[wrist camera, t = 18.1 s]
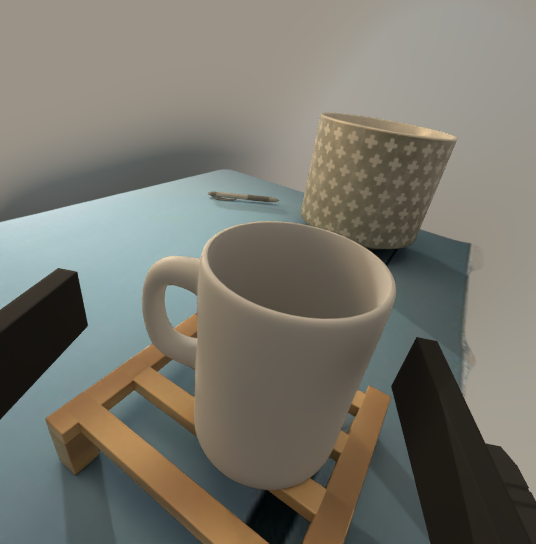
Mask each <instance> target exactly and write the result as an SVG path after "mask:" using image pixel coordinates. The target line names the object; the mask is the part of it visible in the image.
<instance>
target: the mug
mask: <svg viewBox="0 0 536 544" xmlns="http://www.w3.org/2000/svg"><path fill="white" fill-rule="evenodd" d="M167 285H175V286H179V287H182V288H184V289H187V290H189V291H191V292H192V293H194V294H196V295H197V338H192V337H188V336H185V335H183V334H181V333H179V332H178V331H176V330H175V329H174V328H173V327H172V325H171V323H170V322H169V319H168V317H167V313H166V309H165V290H166V287H167ZM395 297H396V284H395V280H394V278H393V276H392V274H391V272H390V270H389V269H388V267H387V266H386V265H385V264H384V263H383V262H382V261H381V260H380V259H379V258H378V257H377V256H376V255H375V254H373V253H372V252H371V251H369V250H368V249H366V248H365V247H363V246H361V245H360V244H358V243H356V242H354V241H352V240H350V239H348V238H346V237H343V236H341V235H338V234H336V233H333V232H330V231H327V230H324V229H320V228H316V227H312V226H308V225H303V224H297V223H289V222H275V221H265V222H252V223H245V224H240V225H236V226H233V227H230V228H227V229H225V230H223V231H221V232H219V233H217V234H216V235H215V236H213V237H212V238H211V239H210V240H209V241H208V242H207V243H206V245H205V247H204V249H203V251H202V255H201V259H198V258H191V257H184V256H168V257H165V258H163V259H160V260H158V261H157V262H156V263H155V264H154V265H153V266H152V267H151V268H150V270H149V272H148V274H147V276H146V279H145V282H144V286H143V294H142V310H143V317H144V322H145V326H146V330H147V332H148V335H149V337H150V339H151V341H152V343H153V345H154V346H155V347H156V348H157V349H158V350H159V351H160V352H161V353H162V354H164V355H165V356H167V357H169V358H171V359H173V360H175V361H177V362H180V363H182V364H185V365H187V366H190V367H193V368H195V400H194V423H195V430H196V434H197V437H198V441H199V443H200V445H201V447H202V449H203V451H204V453H205V454H206V456H207V457H208V459H209V460H210V461H211V463H212V464H213V465H214V466H215V467H216V468H217V469H218V470H219V471H220V472H222V473H223V474H224V475H226V476H227V477H229V478H230V479H232V480H233V481H236V482H238V483H240V484H242V485H245V486H248V487H251V488H256V489H262V490H278V489H285V488H289V487H292V486H296V485H298V484H300V483H302V482H304V481H306V480H307V479H309V478H310V477H312V476H313V475H314V474H315V473H316V472H317V471H318V470H319V469H320V468H322V466H323V465H324V464H325V462H326V461H327V459H328V458H329V456H330V454H331V452H332V450H333V448H334V446H335V443H336V441H337V438H338V435H339V433H340V430H341V428H342V425H343V423H344V420H345V418H346V415H347V413H348V411H349V408H350V406H351V404H352V401H353V399H354V397H355V394H356V392H357V390H358V387H359V385H360V383H361V380H362V378H363V376H364V373H365V371H366V369H367V366H368V364H369V362H370V359H371V357H372V355H373V352H374V350H375V348H376V345H377V343H378V341H379V339H380V336H381V334H382V332H383V329H384V327H385V325H386V322H387V320H388V318H389V315H390V313H391V310H392V308H393V304H394V301H395Z"/></svg>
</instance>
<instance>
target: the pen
mask: <svg viewBox="0 0 536 544" xmlns="http://www.w3.org/2000/svg"><path fill="white" fill-rule="evenodd" d="M208 195H210V196H212V198H214V199H218V200H229V201H231V200H236V199H244V200H252V201H263V202H277V201H279V200H278V199H276V198H272V197H264V196H254V195H242V194H232V193H222V192H210V193H208ZM221 197H224V198H221ZM227 198H234V199H227Z"/></svg>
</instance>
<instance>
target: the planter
mask: <svg viewBox="0 0 536 544" xmlns="http://www.w3.org/2000/svg"><path fill="white" fill-rule="evenodd" d="M456 141H457V138H456V137H454V136H452V135H450V134H447V133H443V132H440V131H436V130H432V129H427V128H423V127H419V126H414V125H409V124H404V123H399V122H393V121H388V120H383V119H377V118H370V117H364V116H357V115H350V114H341V113H322V114H321V116H320V120H319V125H318V130H317V135H316V140H315V145H314V150H313V156H312V160H311V165H310V170H309V175H308V180H307V185H306V190H305V195H304V200H303V204H302V209H301V215H302V218H303V219H304V220H305V222H306V223H307V224H309V225H310V226H312V227H316V228H320V229H324V230H327V231H330V232H333V233H336V234H338V235H341V236H343V237H346V238H348V239H350V240H352V241H354V242H356V243H358V244H360V245H361V246H363V247H365V248H366V249H368V250H377V249H398V248H403V247H407V246H409V245H411V244H412V243H413V242H414V241H415V239H416V237H417V234H418V232H419V230H420V227H421V225H422V222H423V220H424V218H425V215H426V213H427V210H428V208H429V206H430V203H431V201H432V198H433V196H434V193H435V191H436V188H437V186H438V184H439V182H440V179H441V177H442V174H443V172H444V170H445V167H446V165H447V163H448V160H449V158H450V155H451V153H452V150H453V148H454V146H455V143H456Z"/></svg>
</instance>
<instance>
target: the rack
mask: <svg viewBox="0 0 536 544" xmlns="http://www.w3.org/2000/svg"><path fill="white" fill-rule="evenodd" d="M174 329H175V330H176V331H178V332H179V333H181V334H183V335H185V336H188V337H192V338H197V313H195V314H194V315H192V316H191V317H190V318H188V319H187V320H185V321H184V322H182V323H181V324H180V325H178V326H177V327H175V328H174ZM171 360H173V359H171V358H169V357H167V356H165V355H164V354H162V353H161V352H160V351H159V350H158V349H157V348H156V347H155V346H154V345H153V343H152V344H151V345H150V346H148V347H147V348H145V349H144V350H142V351H141V352H140V353H138V354H137V355H135V356H134V357H132V358H131V359H129V360H128V361H127V362H125V363H124V364H122V365H121V366H119V367H118V368H117V369H115V370H114V371H112V372H111V373H110V374H108V375H107V376H105V377H104V378H102V379H101V380H100V381H98V382H97V383H95V384H94V385H92V386H91V387H90V388H88V389H87V390H85V391H84V392H82V393H81V394H79V395H78V396H76V397H75V398H74V399H72V400H71V401H69V402H68V403H66V404H65V405H64V406H62V407H61V408H60V409H58V410H57V411H55V412H54V413H52V414H51V415H50V416H48V417H47V418H46V419H45V420H46V423H47V426H48V429H49V432H50V435H51V437H52V440H53V443H54V445H55V448H56V451H57V454H58V456H59V459H60V461H61V462H62V463H63V464H64V465H65V466H66V467H67V468H68V469H69V470H70V471H71V472H72V473H73V474H74V475H77V474H78V473H79V472H80V471H81V470H82V469H83V468H84V467H86V466H87V465H88V464H89V463H90V462H91V461H92V460H93V459H95V458H96V457H97V456H98V455H99V454H100V453H99V449H100V450H101V451H102V452H103V453H104V454H105V455H106V456H107V457H108V458H110V459H111V460H112V461H113V462H114V463H115V464H116V465H117V466H118V467H119V468H121V469H122V470H123V471H124V472H125V473H126V474H127V475H128V476H129V477H130V478H131V479H133V480H134V481H135V482H136V483H137V484H138V485H139V486H140V487H141V488H142V489H144V490H145V491H146V492H147V493H148V494H149V495H150V496H151V497H152V498H153V499H155V500H156V501H157V502H158V503H159V504H160V505H161V506H162V507H163V508H164V509H165V510H167V511H168V512H169V513H170V514H171V515H172V516H173V517H174V518H175V519H176V520H178V521H179V522H180V523H181V524H182V525H183V526H184V527H185V528H186V529H187V530H189V531H190V532H191V533H192V534H193V535H194V536H195V537H196V538H197V539H198V540H199V541H201V542H202V543H203V544H269V543H268V542H267V541H265V540H264V539H263V538H262V537H261V536H259V535H258V534H257V533H256V532H255V531H253V530H252V529H251V528H250V527H248V526H247V525H246V524H245V523H244V522H242V521H241V520H240V519H239V518H238V517H236V516H235V515H234V514H233V513H232V512H230V511H229V510H228V509H227V508H225V507H224V506H223V505H222V504H221V503H219V502H218V501H217V500H216V499H215V498H213V497H212V496H211V495H210V494H209V493H207V492H206V491H205V490H204V489H202V488H201V487H200V486H199V485H198V484H196V483H195V482H194V481H193V480H192V479H190V478H189V477H188V476H187V475H186V474H184V473H183V472H182V471H181V470H179V469H178V468H177V467H176V466H175V465H173V464H172V463H171V462H170V461H169V460H167V459H166V458H165V457H164V456H163V455H161V454H160V453H159V452H158V451H156V450H155V449H154V448H153V447H152V446H150V445H149V444H148V443H147V442H146V441H144V440H143V439H142V438H141V437H140V436H138V435H137V434H136V433H135V432H134V431H132V430H131V429H130V428H129V427H127V426H126V425H125V424H124V423H123V422H121V421H120V420H119V419H118V418H117V417H115V416H114V415H113V414H112V413H111V412H109V410H110V409H111V408H112V407H114V406H115V405H116V404H117V403H119V402H120V401H121V400H122V399H124V398H125V397H126V396H127V395H129V394H130V393H131V392H132V391H134V390H135V391H136V392H138V393H139V394H140V395H142V396H143V397H144V398H146V399H147V400H148V401H150V402H151V403H152V404H154V405H155V406H156V407H158V408H159V409H160V410H162V411H163V412H164V413H166V414H167V415H168V416H170V417H171V418H172V419H174V420H175V421H176V422H178V423H179V424H180V425H182V426H183V427H184V428H186V429H187V430H188V431H190V432H191V433H192V434H194V435H195V436H196V437H197V434H196V430H195V423H194V400H195V398H194V397H193V396H191V395H190V394H189V393H187V392H186V391H184V390H183V389H181V388H180V387H178V386H177V385H176V384H174V383H173V382H171V381H170V380H168V379H167V378H165V377H164V376H163V375H161V374H160V373H158V371H159V370H160V369H161V368H163V367H164V366H165V365H166V364H168V363H169V362H170V361H171ZM191 368H193V367H191ZM193 369H194V370H195V368H193ZM390 400H391V397H390V396H388V395H386V394H384V393H382V392H381V391H379V390H377V389H375V388H373V387H371V386H368V389H367V391H366V393H365V394H364V393H362V392H361V391H359V390H357V392H356V394H355V397H354V399H353V401H352V404H351V406H350V408H349V411H348V413H350V414H351V415H353V416H355V417H354V419H353V421H352V424H351V426H350V429H349V431H348V433H347V434H346V433H345V432H343V431H341V430H340V433H339V435H338V438H337V441H336V443H335V446H334V448H333V450H332V452H331V454H330V456H329V457H330V458H331V459H333V460H334V461H336V464H335V466H334V469H333V471H332V473H331V476H330V478H329V481H328V483H327V485H326V488H324V487H323V486H321V485H320V484H318V483H317V482H316V481H314V480H313V479H311V478H309V479H307V480H306V481H304V482H302V483H300V484H298V485H296V486H292V487H289V488H285V489H278V490H268V491H269V492H271V493H272V494H273V495H275V496H276V497H277V498H279V499H280V500H281V501H283V502H284V503H285V504H287V505H288V506H289V507H291V508H292V509H293V510H295V511H296V512H297V513H299V514H300V515H301V516H303V517H304V518H305V519H307V520H308V521H309V522H311V523H310V526H309V528H308V530H307V533H306V535H305V537H304V540H303V542H302V544H344V541H345V538H346V535H347V532H348V529H349V525H350V522H351V519H352V516H353V513H354V510H355V507H356V504H357V501H358V498H359V495H360V492H361V489H362V485H363V482H364V479H365V476H366V473H367V470H368V467H369V464H370V461H371V458H372V455H373V452H374V449H375V446H376V443H377V439H378V436H379V433H380V430H381V427H382V424H383V421H384V418H385V415H386V412H387V409H388V406H389V403H390ZM98 448H99V449H98Z"/></svg>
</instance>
